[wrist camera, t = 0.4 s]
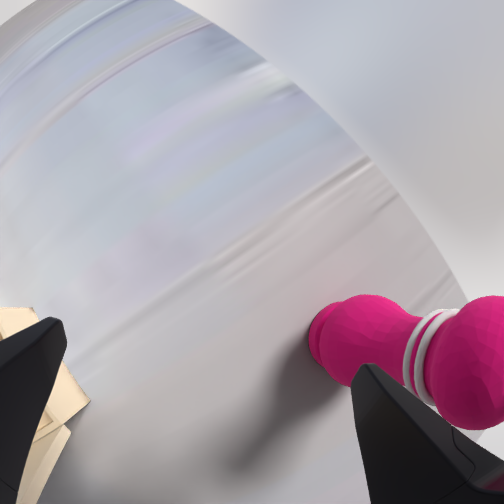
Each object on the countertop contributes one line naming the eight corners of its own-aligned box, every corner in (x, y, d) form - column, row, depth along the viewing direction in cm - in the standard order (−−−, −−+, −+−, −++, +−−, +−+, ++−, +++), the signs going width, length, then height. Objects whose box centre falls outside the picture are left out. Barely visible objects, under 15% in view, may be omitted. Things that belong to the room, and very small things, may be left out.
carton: (90, 401, 19) (61, 424, 14) (20, 446, 16) (-7, 466, 10) (32, 307, 20) (-7, 307, 14) (-28, 369, 17) (-60, 377, 11)
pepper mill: (386, 335, 24) (582, 349, 5) (334, 390, 23) (519, 488, 3) (344, 279, 25) (562, 227, 5) (285, 335, 23) (504, 412, 3)
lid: (63, 424, 14) (72, 433, 14) (-8, 467, 10) (-1, 474, 11) (12, 517, 4) (27, 529, 4) (-45, 523, 1) (-37, 531, 1)
